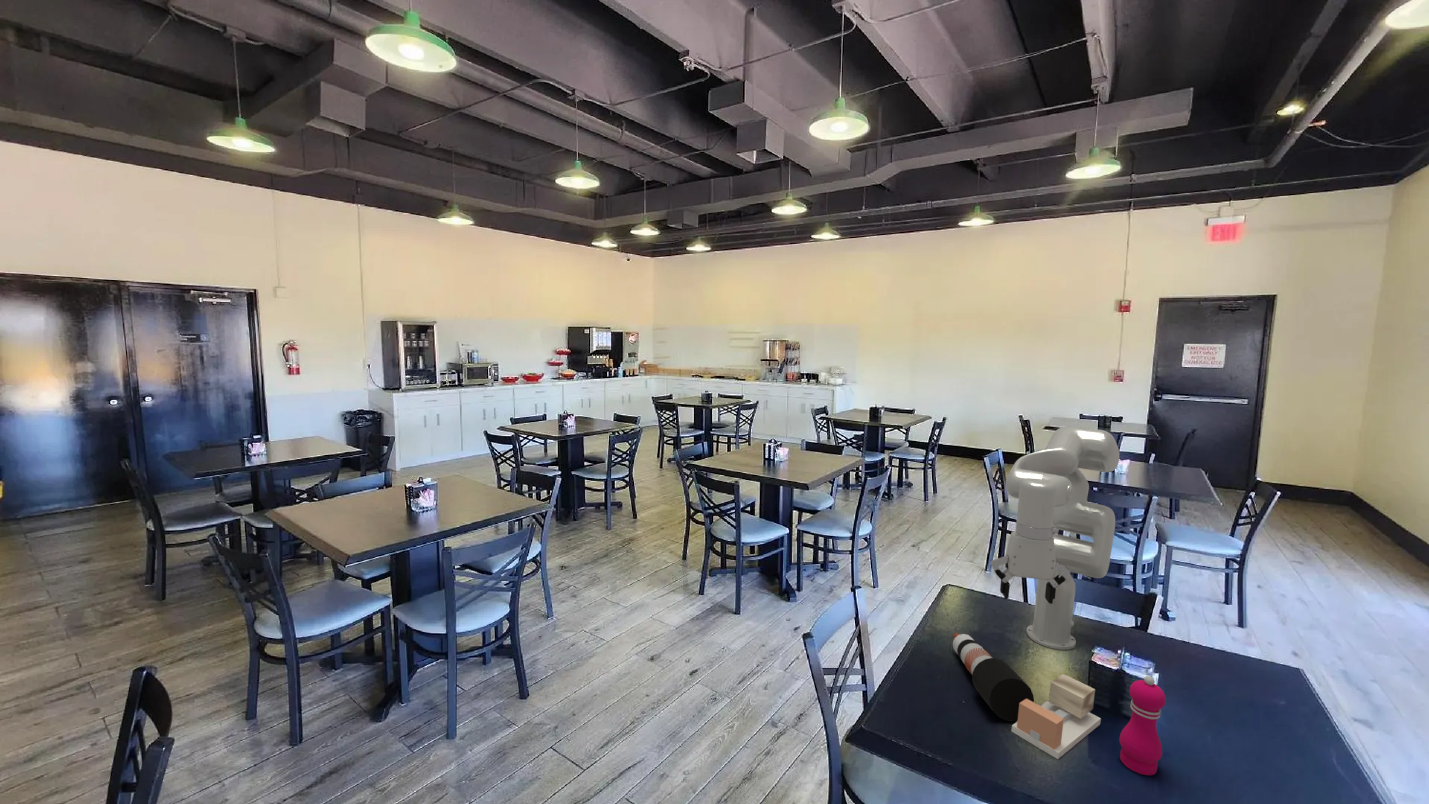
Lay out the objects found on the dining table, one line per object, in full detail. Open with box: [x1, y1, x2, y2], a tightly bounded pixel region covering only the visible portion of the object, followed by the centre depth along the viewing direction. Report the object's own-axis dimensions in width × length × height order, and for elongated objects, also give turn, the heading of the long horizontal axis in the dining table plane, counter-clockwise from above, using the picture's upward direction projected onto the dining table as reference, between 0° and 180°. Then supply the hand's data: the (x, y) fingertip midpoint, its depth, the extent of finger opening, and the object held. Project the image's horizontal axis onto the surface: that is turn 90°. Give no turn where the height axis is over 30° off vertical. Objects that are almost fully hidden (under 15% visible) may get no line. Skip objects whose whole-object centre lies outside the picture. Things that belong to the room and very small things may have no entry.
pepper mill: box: [1118, 675, 1167, 776], centre depth 120 cm, size 7×7×20 cm
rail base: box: [1011, 699, 1102, 760], centre depth 131 cm, size 20×10×8 cm, turn 124°
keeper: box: [1048, 673, 1096, 719], centre depth 135 cm, size 6×7×5 cm
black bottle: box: [952, 632, 1035, 722], centre depth 149 cm, size 10×34×10 cm, turn 176°
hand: (1026, 598), depth 139 cm, fingers open, 9 cm apart
